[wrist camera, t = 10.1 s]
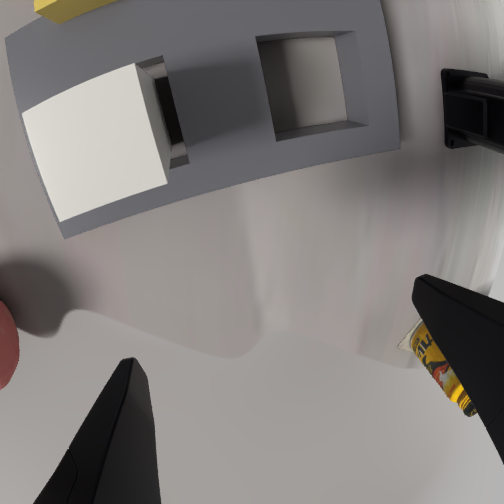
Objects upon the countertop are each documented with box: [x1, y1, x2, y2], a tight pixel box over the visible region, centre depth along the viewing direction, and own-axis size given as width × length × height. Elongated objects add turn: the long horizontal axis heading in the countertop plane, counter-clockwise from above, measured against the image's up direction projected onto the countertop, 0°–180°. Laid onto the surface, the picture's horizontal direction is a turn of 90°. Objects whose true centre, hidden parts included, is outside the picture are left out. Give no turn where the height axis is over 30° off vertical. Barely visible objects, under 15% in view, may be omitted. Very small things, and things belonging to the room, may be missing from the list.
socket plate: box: [5, 0, 400, 239], centre depth 12 cm, size 20×12×6 cm, turn 101°
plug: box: [22, 63, 172, 222], centre depth 11 cm, size 4×4×8 cm
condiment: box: [398, 319, 477, 417], centre depth 26 cm, size 7×8×12 cm
